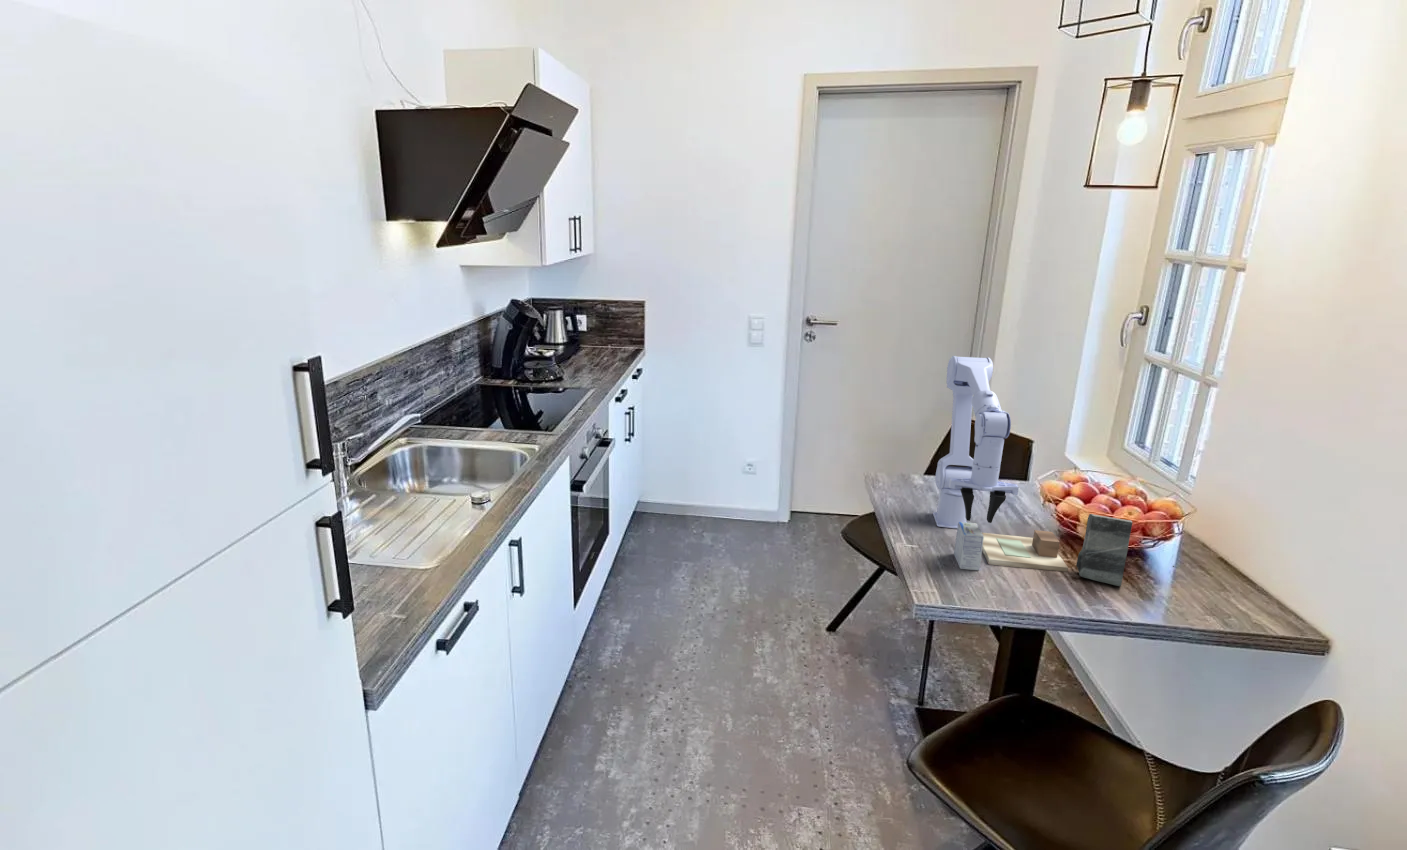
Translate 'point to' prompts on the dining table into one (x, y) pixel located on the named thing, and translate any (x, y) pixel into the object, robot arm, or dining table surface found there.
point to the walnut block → (1045, 543)
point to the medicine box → (968, 546)
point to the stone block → (1104, 549)
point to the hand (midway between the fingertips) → (978, 520)
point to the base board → (1017, 553)
